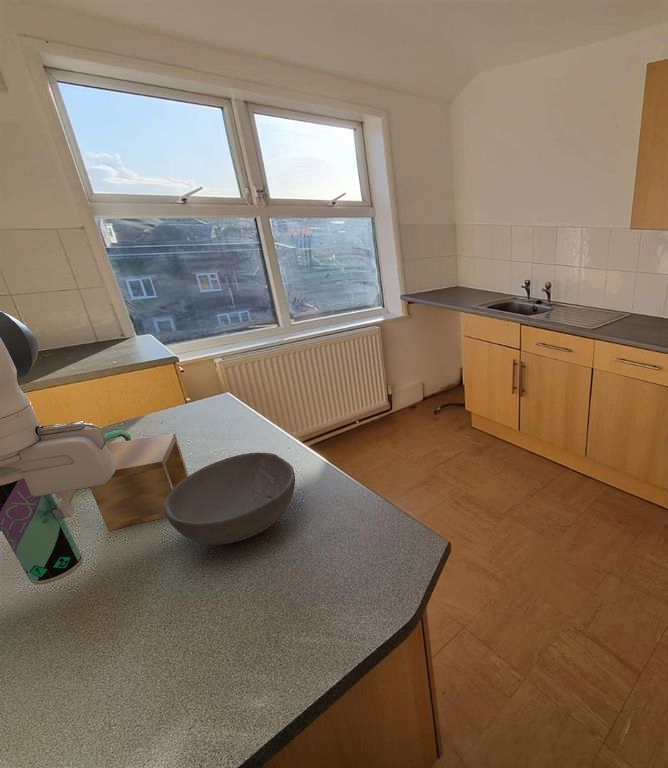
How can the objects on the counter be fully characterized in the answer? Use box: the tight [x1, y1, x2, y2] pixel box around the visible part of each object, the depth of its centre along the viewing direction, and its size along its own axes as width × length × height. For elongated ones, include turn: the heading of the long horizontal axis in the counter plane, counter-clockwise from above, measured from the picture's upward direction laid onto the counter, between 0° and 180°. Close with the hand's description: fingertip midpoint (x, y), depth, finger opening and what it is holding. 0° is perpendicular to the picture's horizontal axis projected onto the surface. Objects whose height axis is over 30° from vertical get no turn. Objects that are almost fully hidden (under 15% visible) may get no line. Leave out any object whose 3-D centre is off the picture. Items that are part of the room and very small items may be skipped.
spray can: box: [0, 467, 84, 585], centre depth 58 cm, size 6×6×20 cm
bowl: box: [164, 452, 296, 545], centre depth 80 cm, size 20×20×10 cm
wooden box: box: [89, 432, 190, 531], centre depth 85 cm, size 11×12×12 cm
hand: (32, 522), depth 59 cm, fingers closed on spray can, 5 cm apart
